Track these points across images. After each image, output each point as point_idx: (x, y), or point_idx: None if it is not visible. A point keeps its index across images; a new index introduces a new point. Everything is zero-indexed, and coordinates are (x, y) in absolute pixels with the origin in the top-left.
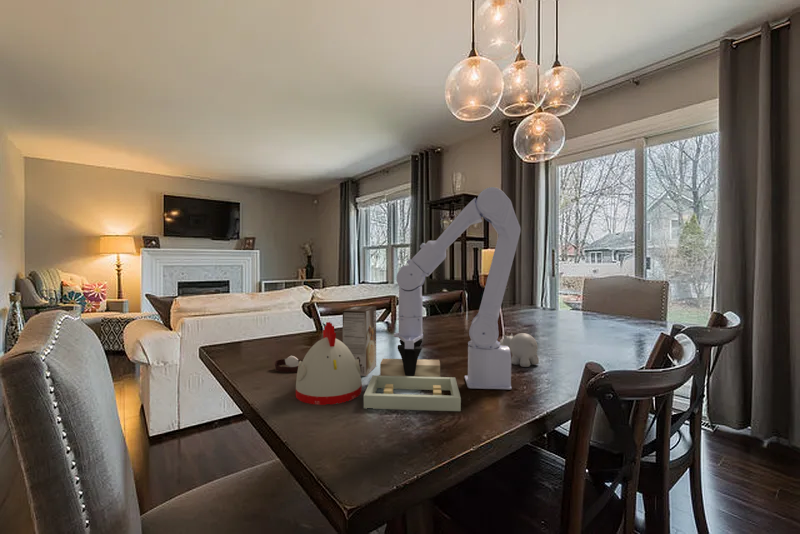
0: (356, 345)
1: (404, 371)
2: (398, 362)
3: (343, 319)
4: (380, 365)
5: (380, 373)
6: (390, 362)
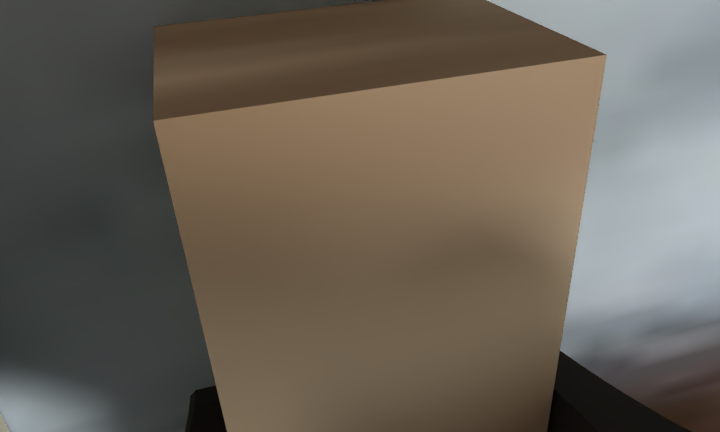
0: None
1: (185, 430)
2: (355, 383)
3: None
4: (158, 113)
5: (154, 62)
6: (330, 276)
